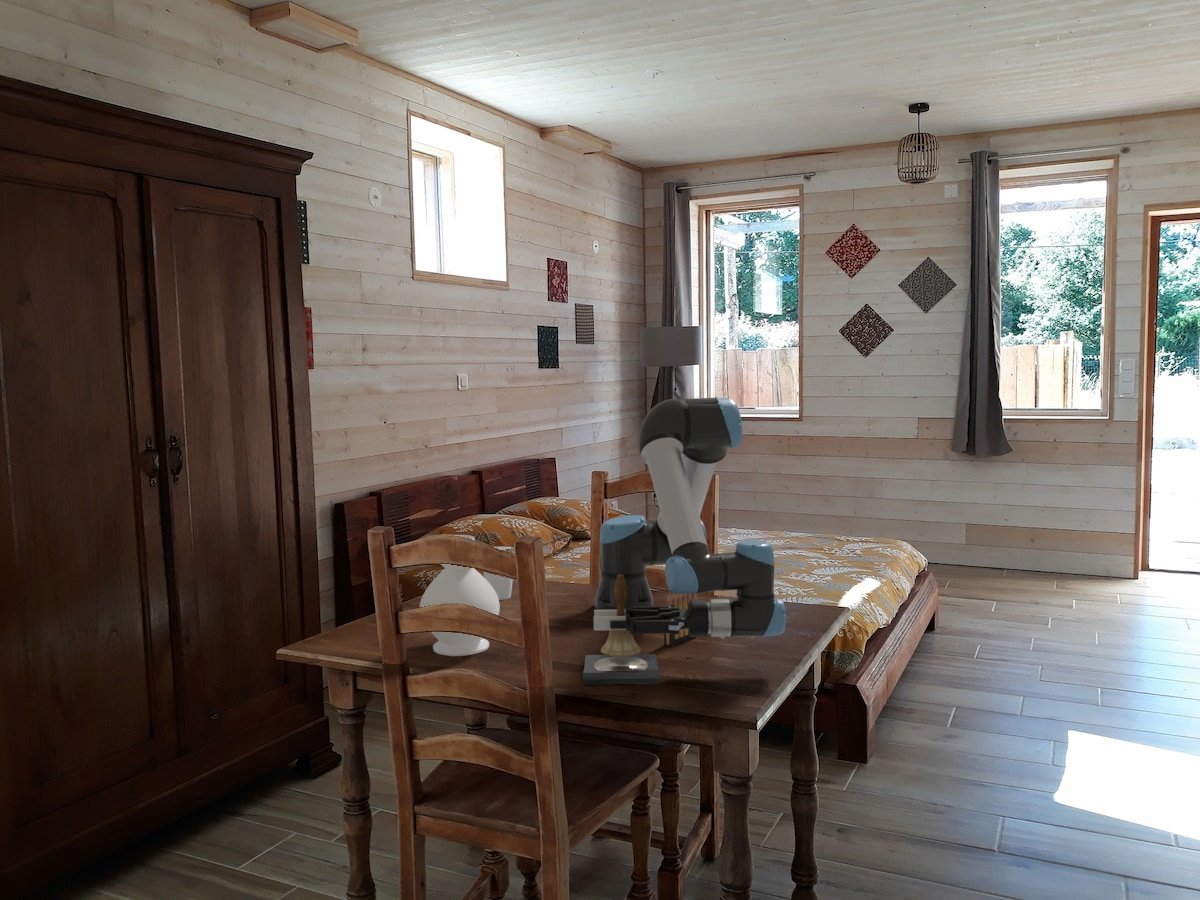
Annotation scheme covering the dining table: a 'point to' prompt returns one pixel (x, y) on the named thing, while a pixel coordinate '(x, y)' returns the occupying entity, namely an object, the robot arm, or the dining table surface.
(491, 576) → the foam cup
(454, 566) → the decorative vase
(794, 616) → the dining table surface
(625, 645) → the hand bell
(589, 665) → the plate
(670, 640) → the ammunition clip
